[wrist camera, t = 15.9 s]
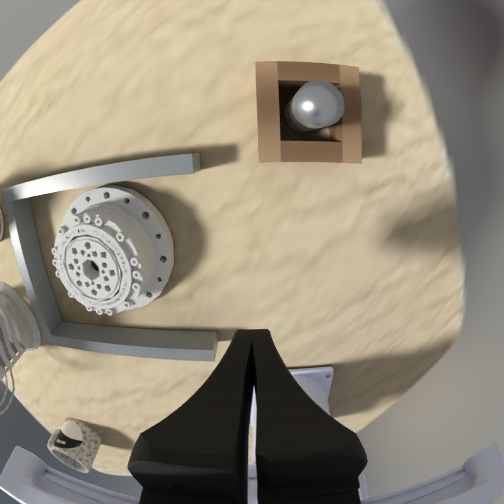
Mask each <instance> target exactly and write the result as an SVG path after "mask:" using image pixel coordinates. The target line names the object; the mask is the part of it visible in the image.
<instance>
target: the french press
mask: <svg viewBox="0 0 504 504" xmlns="http://www.w3.org/2000/svg"><path fill="white" fill-rule="evenodd" d="M40 343H41V337H40V330H39V327H38V325H37V322H36V319H35V317H34V315H33V314H32V312H31V310H30V309H29V307H28V305H27V304H26V302H25V301H24V300H23V299H22V298H21V296H20V295H19V294H18V293H17V292H16V291H15V290H14V289H13V288H11V287H10V286H9V285H7V284H6V283H4V282H0V381H1V379H2V378H3V377H4V376H5V379H6V390H5V394H4V397H3V399H2V401H1V402H0V406H1V404H2V403H3V402H4V400H5V397H6V393H7V389H8V381H7V376H6V373H7V372H8V371H9V369H10V373H11V377H12V384H13V391H12V396H11V399H10V401H9V403H8V405H7V406H6V408H5V409H4V410H3V411H1V412H0V415H1V414H3V413H4V412H5V411H6V410H7V408H8V407H9V405H10V403H11V402H12V399H13V395H14V379H13V375H12V367H13V365H14V364H15V363H16V362H17V360H18V359H19V358H20V357H21V355H22V354H23V353H24V352H25V351H26V350H29V351H31V350H35V349H38V347H39V345H40ZM22 349H23V350H22ZM17 352H19V355H18V356H16V355H15V354H16V353H17ZM11 359H13V360H14V361H13V362H12V363H10V362H9V361H10V360H11ZM5 366H7V367H8V368H7V369H6V370H5Z"/></svg>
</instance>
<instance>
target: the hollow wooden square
mask: <svg viewBox="0 0 504 504" xmlns="http://www.w3.org/2000/svg"><path fill="white" fill-rule="evenodd" d="M314 80H323V81H326V82H329V83H331V84H332V85H334V86H335V87H336V88H337V89H338V90H339V91H340V92H341V94H342V96H343V99H344V104H345V105H344V112H343V115H342V116H341V118H340V119H339V120H338V121H337V122H336V123H334V124H333V125H330V142H323V141H280V115H279V90H299V89H300V88H301V87H302V86H303V85H304V84H306V83H307V82H310V81H314ZM256 92H257V118H258V145H259V162H338V163H361V164H362V124H361V97H360V81H359V68H358V67H354V66H345V65H336V64H325V63H311V62H284V61H264V62H256Z"/></svg>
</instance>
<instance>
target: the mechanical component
mask: <svg viewBox="0 0 504 504" xmlns="http://www.w3.org/2000/svg"><path fill="white" fill-rule="evenodd" d="M147 212H148V213H149V215H148V213H147ZM52 254H53V255H54V259H53V263H52V264H53V265H54V266H56V268H57V271H56V276H57V277H58V278H60V279H61V281H62V283H63V284H64V286H65V287H66V289H67V290H68V295H69V297H71V298H73V297H74V298H75V299H76V300H77V301H79V302H80V303H81V304H83V305H84V306H86V309H87V310H88V311H89V312H90V311H92V310H94V311H96V313H97V314H98V315H101V314H102V313H107V315H109V316H111V315H112V314H113V313H118V312H121V311H124V310H132V309H136V308H139V307H142V306H145V305H147V304H149V303H150V302H151V301H152V300H154V299H155V298H156V297H157V296H159V295H160V294H161V292H162V290H163V288H164V287H165V285H166V283H167V282H168V280H169V278H170V275H171V272H172V269H173V266H174V243H173V239H172V236H171V232H170V229H169V227H168V225H167V223H166V221H165V219H164V217H163V215H162V214H161V213H160V212H159V211H158V210H157V208H156V207H155V206H154V205H153V204H152V203H151V202H150V200H148V199H147V198H145V197H144V196H142V195H141V194H139V193H138V192H136V191H135V190H133V189H130V188H125V187H121V186H117V185H110V186H101V187H98V188H95V189H92V190H90V191H88V192H86V193H84V194H82V195H80V196H79V197H78V198H77V199H76V200H75V201H74V202H73V203H72V204H71V205H70V207H69V208H68V210H67V212H66V213H65V215H64V219H63V222H62V225H61V227H60V228H58V233H57V236H56V239H55V244H54V248H52Z"/></svg>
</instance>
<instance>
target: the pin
mask: <svg viewBox="0 0 504 504" xmlns="http://www.w3.org/2000/svg"><path fill="white" fill-rule="evenodd" d="M344 105H345V104H344V99H343V96H342V94H341V92H340V91H339V90H338V89H337V88H336V87H335V86H334V85H332V84H331V83H329V82H326V81H323V80H314V81H310V82H307V83H306V84H304V85H303V86H302V87H301V88H300V89H299V91H298V92H297V93H296V94H295V96H294V97H293V98H292V99H291V101H290V102H289V103H288V105H287V107H286V109H285V117H286V120H287V122H288V124H289V125H290V126H291V127H292V128H294V129H296V130H298V131H310V130H314V129H318V128H322V127H326V126H330V125H333V124H334V123H336V122H337V121H338V120H339V119H340V118H341V116H342V115H343V112H344Z"/></svg>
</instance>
